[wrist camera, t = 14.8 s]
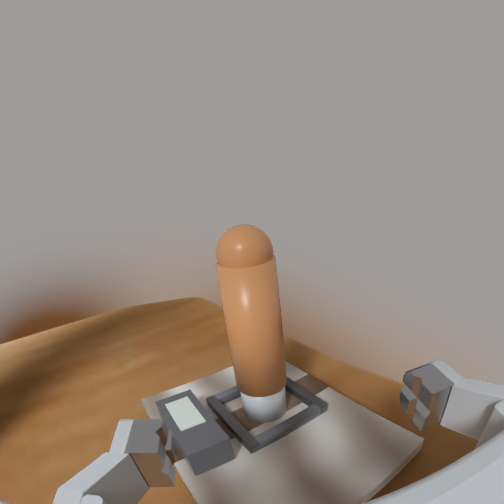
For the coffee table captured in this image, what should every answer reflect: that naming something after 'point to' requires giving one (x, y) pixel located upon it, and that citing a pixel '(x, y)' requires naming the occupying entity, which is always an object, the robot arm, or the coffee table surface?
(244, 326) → the tan rounded rod
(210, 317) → the coffee table surface
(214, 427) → the block
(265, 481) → the metal mounting plate
